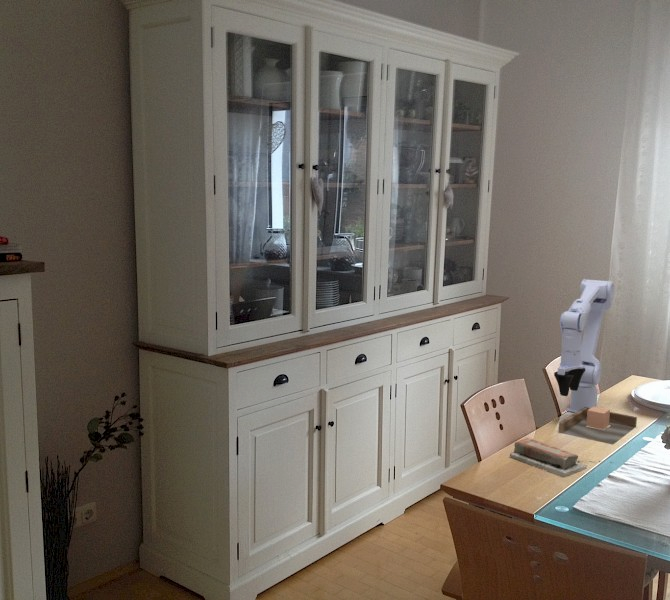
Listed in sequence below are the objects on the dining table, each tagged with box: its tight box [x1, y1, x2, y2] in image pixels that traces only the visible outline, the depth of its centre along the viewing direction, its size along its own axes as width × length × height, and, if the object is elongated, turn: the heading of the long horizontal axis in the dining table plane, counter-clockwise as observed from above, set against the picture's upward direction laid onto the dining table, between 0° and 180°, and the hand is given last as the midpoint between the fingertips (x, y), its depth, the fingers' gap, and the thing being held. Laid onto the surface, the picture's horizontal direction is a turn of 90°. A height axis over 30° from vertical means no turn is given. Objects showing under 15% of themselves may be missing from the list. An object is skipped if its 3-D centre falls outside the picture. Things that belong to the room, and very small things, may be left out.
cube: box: [587, 406, 611, 430], centre depth 222 cm, size 5×5×5 cm
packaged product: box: [509, 437, 588, 478], centre depth 195 cm, size 18×5×10 cm
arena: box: [558, 407, 638, 445], centre depth 219 cm, size 20×16×4 cm
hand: (568, 392), depth 228 cm, fingers open, 7 cm apart
